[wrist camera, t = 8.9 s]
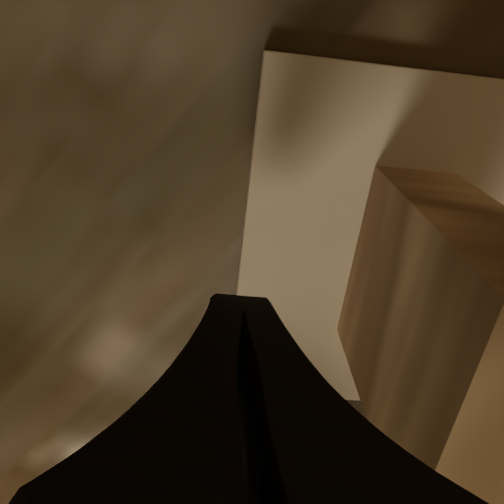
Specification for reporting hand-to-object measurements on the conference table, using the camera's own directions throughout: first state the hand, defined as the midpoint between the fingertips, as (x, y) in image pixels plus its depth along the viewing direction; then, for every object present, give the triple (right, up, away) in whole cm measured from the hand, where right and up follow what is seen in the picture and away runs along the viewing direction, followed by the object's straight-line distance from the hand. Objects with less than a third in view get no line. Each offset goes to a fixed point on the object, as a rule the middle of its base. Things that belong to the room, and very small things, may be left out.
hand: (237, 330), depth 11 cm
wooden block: (+5, +2, +4) cm, 7 cm away
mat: (+7, +2, +5) cm, 9 cm away
